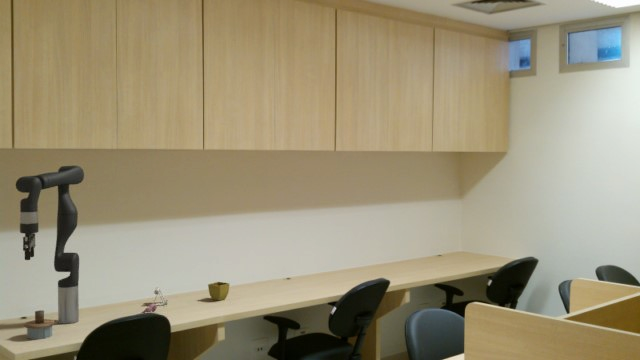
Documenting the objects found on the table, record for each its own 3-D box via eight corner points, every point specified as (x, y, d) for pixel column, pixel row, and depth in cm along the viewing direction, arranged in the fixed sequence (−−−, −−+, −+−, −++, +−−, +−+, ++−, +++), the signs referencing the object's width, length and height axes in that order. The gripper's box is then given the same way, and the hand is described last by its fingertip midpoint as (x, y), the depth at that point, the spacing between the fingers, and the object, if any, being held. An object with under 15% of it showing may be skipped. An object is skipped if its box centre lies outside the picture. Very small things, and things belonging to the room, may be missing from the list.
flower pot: (219, 302, 360) (219, 285, 360) (207, 300, 365) (207, 284, 365) (230, 299, 368) (230, 283, 368) (218, 297, 372) (218, 281, 372)
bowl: (33, 333, 295) (33, 322, 295) (55, 333, 295) (55, 322, 295) (23, 339, 285) (23, 327, 285) (46, 339, 285) (46, 327, 285)
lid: (31, 321, 296) (31, 308, 296) (58, 321, 296) (58, 308, 296) (19, 328, 284) (19, 314, 284) (47, 328, 284) (47, 314, 284)
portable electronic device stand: (167, 305, 352) (167, 290, 351) (152, 306, 350) (152, 290, 350) (168, 302, 360) (168, 287, 360) (153, 302, 359) (153, 287, 359)
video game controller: (146, 321, 324) (152, 308, 323) (138, 316, 324) (144, 304, 323) (154, 316, 333) (160, 304, 333) (146, 312, 334) (152, 300, 333)
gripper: (23, 220, 296) (23, 256, 297) (16, 223, 282) (16, 261, 283) (41, 220, 298) (41, 256, 299) (35, 223, 284) (35, 260, 285)
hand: (29, 258), depth 291 cm, fingers open, 8 cm apart
